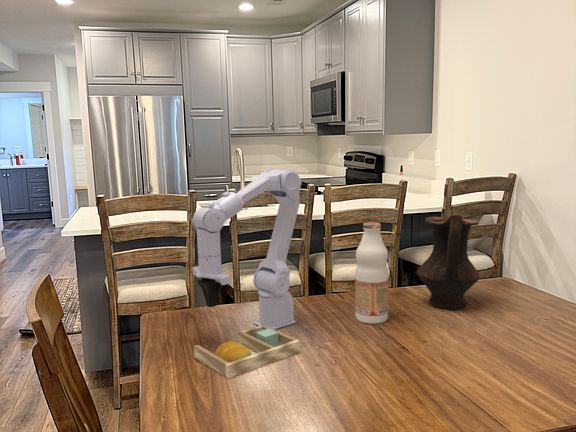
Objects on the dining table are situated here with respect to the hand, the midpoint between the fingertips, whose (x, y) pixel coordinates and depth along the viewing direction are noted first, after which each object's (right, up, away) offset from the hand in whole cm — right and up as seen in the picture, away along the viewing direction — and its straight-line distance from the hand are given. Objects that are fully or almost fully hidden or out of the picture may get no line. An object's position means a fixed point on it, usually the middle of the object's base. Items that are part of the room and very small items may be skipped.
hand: (212, 306), depth 135 cm
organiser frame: (+9, -11, -7) cm, 16 cm away
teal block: (+14, -10, -2) cm, 18 cm away
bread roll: (+6, -12, -9) cm, 16 cm away
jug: (+69, -5, +27) cm, 74 cm away
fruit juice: (+44, -7, +17) cm, 47 cm away
